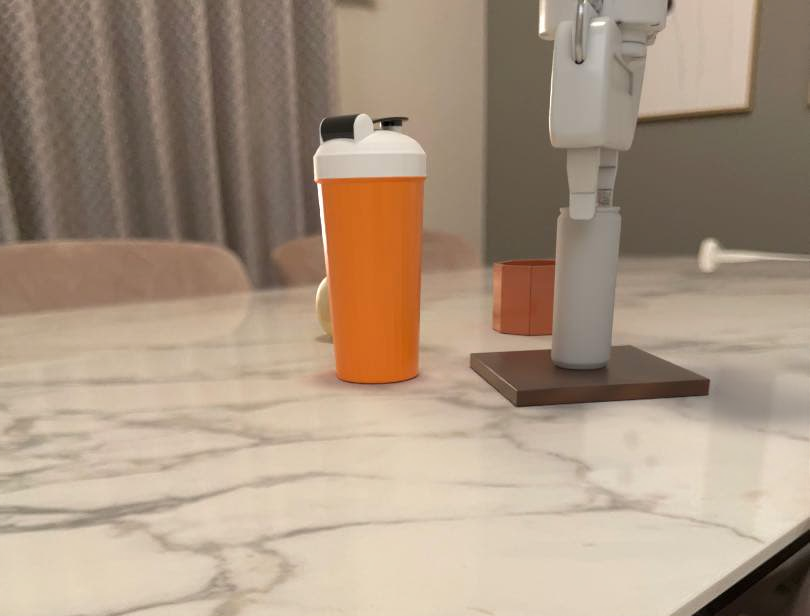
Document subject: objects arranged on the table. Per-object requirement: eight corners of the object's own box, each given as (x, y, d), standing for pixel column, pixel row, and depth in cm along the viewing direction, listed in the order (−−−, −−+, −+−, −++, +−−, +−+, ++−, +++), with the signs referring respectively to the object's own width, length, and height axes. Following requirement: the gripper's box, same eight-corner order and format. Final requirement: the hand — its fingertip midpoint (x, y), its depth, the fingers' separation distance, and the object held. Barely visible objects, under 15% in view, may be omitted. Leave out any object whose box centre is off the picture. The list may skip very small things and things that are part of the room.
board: (629, 358, 77) (630, 344, 77) (708, 394, 64) (710, 379, 63) (469, 366, 75) (470, 353, 75) (516, 406, 62) (517, 390, 61)
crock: (557, 321, 98) (560, 258, 95) (582, 332, 91) (586, 264, 88) (487, 324, 97) (488, 260, 94) (506, 336, 89) (508, 267, 87)
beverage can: (538, 365, 69) (544, 208, 65) (575, 356, 72) (583, 206, 68) (586, 373, 66) (596, 208, 61) (622, 364, 69) (635, 206, 64)
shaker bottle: (448, 370, 74) (448, 115, 66) (390, 391, 67) (381, 109, 59) (366, 361, 79) (357, 122, 71) (304, 379, 72) (286, 117, 64)
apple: (406, 328, 93) (403, 269, 87) (359, 369, 90) (353, 311, 83) (352, 301, 96) (345, 243, 90) (304, 340, 93) (295, 281, 86)
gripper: (635, -30, 49) (619, 223, 55) (658, 23, 67) (644, 209, 72) (528, -18, 51) (523, 224, 57) (578, 30, 69) (570, 211, 74)
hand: (591, 216), depth 65 cm, fingers open, 8 cm apart
